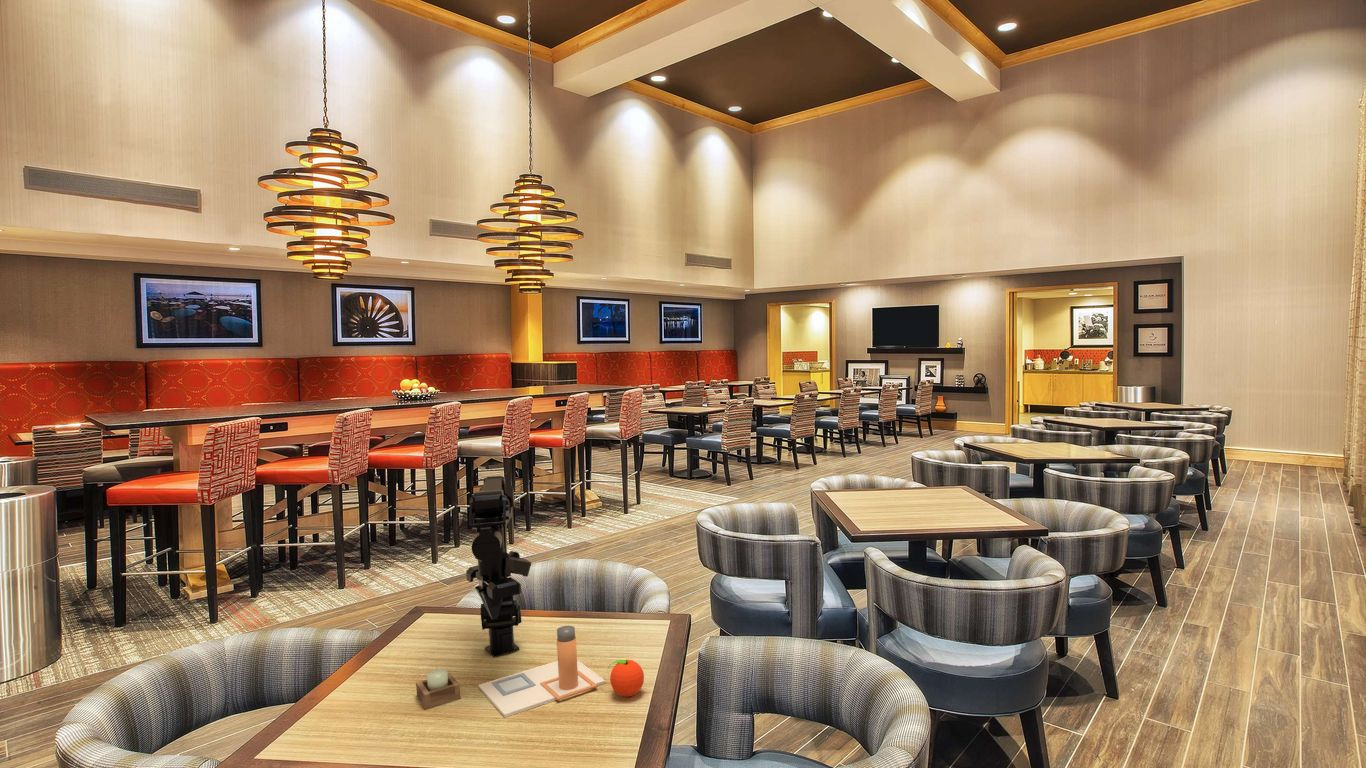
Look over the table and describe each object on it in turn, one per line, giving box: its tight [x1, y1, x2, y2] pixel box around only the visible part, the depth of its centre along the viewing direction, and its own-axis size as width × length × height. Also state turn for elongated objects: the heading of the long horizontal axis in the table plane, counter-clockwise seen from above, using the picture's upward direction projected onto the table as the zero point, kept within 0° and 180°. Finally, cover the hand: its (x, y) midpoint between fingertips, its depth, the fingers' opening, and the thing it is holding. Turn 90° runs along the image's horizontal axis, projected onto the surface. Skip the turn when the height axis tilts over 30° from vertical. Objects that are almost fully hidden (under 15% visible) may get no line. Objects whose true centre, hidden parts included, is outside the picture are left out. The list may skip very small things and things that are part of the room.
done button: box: [426, 668, 448, 692], centre depth 142 cm, size 4×4×4 cm
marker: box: [556, 625, 578, 690], centre depth 143 cm, size 4×4×12 cm
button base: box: [415, 672, 461, 710], centre depth 142 cm, size 7×7×3 cm
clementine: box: [607, 659, 645, 698], centre depth 139 cm, size 8×7×7 cm
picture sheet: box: [477, 659, 606, 718], centre depth 144 cm, size 18×22×1 cm
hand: (494, 619), depth 150 cm, fingers closed
